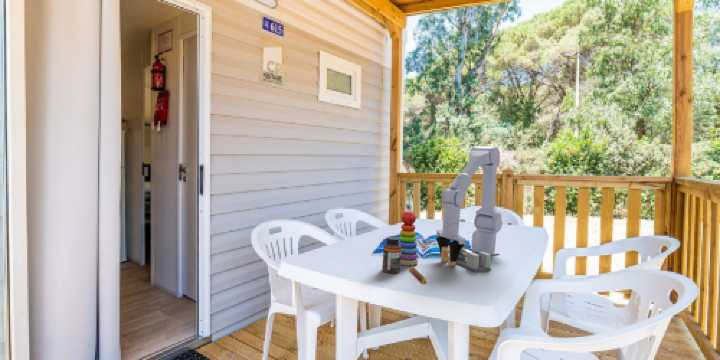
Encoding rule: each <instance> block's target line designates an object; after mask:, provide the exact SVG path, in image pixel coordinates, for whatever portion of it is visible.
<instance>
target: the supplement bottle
mask: <svg viewBox="0 0 720 360" xmlns="http://www.w3.org/2000/svg"><path fill="white" fill-rule="evenodd" d="M399 241H400V239H399V237H398V236H387V237H386V242H385V243H384V244H383V251H382V252H383V253H382V271H383V272H384V273H387V274H398V273H399V272H401V245H400V244H399Z"/></svg>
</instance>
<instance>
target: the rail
mask: <svg viewBox="0 0 720 360" xmlns="http://www.w3.org/2000/svg"><path fill="white" fill-rule="evenodd" d="M472 252H473V251H471V253H467V257H461V258H457V261H456V265H459V266H461V267H463V268H465V269H468V270H469V271H472V272H474V273H477V272H479V273H480V272H487V271H488V272H489V271H492V267H491V260H492V259H491V258H492V255H491V254H488V253H485V252H479V253H476V254H474V253H475V252H474V253H472ZM477 254H479V255H480V256H481V259H480V261H479V255H477ZM448 261H449V256H448Z"/></svg>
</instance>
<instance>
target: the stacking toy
mask: <svg viewBox="0 0 720 360" xmlns="http://www.w3.org/2000/svg"><path fill="white" fill-rule="evenodd" d="M416 219H417V216H416V214H415V213H414V212H413V211H411V210H405V211H404V212H403V213H402V214H401V221H402V222H401V223H402V225H401V226H400V227H401V230H400V231H399V234H400V236H399V237H398V238H399V242H398V243H399V244H400V245H401V265H403V266H411V267H412V266H415V265H417V264H418V263H419V259H418V256H419V255H418V253H417V252H418V248H417V246H418V243H417V236H416V233H417V232H416V231H415V230H416V225H415V224H414V223H415V222H416ZM401 265H400V266H401Z"/></svg>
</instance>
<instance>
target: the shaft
mask: <svg viewBox="0 0 720 360" xmlns="http://www.w3.org/2000/svg"><path fill="white" fill-rule="evenodd" d="M471 252H472V253H474V254H477V255H479V253H477V252H475V251H472V250H470V249H468V243H466V242H465V244H464V246H463V247H462V249H461V250H460V252H459V255H458V258H461V257H467V253H471ZM480 259H481V256H480V255H479V261H480Z"/></svg>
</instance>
